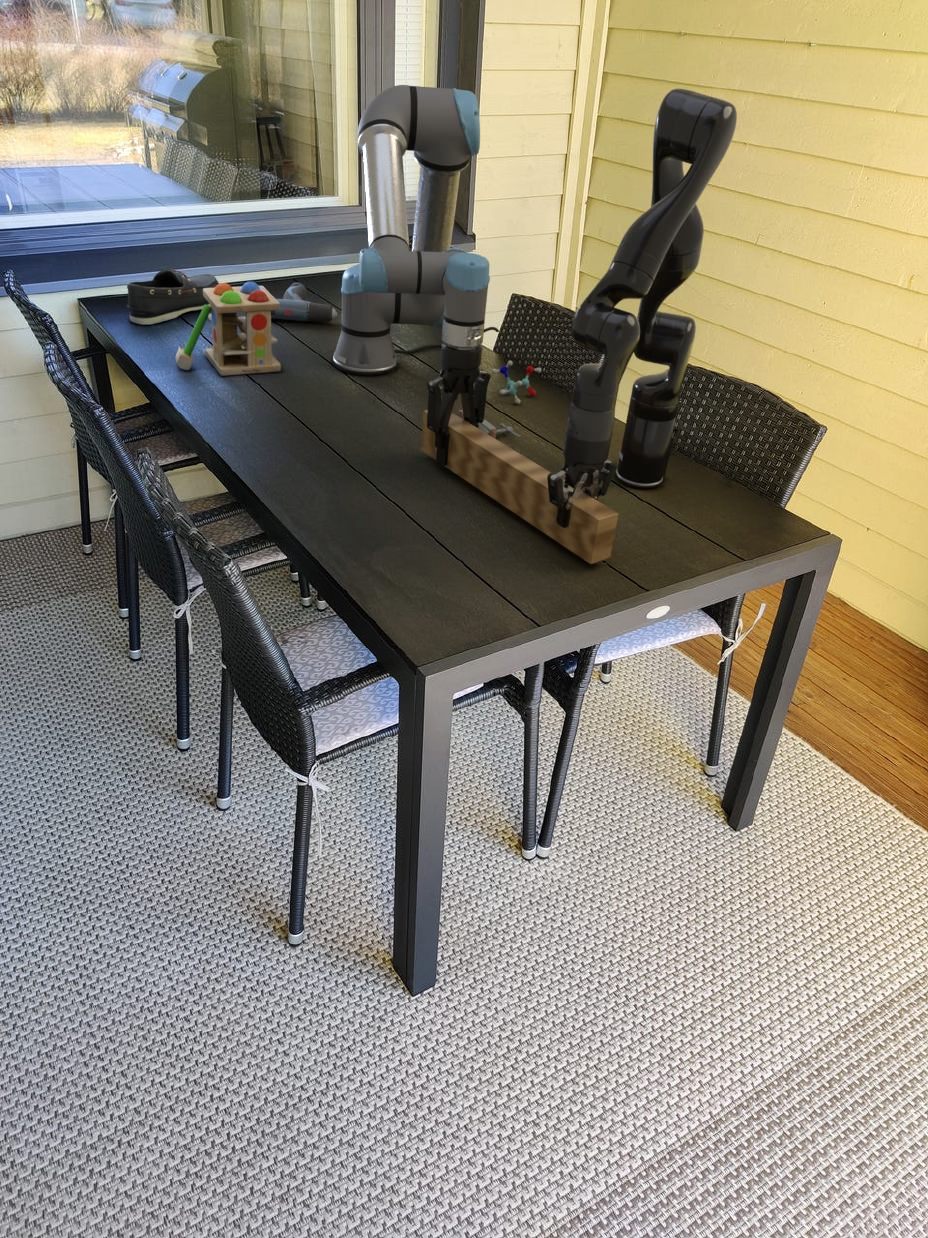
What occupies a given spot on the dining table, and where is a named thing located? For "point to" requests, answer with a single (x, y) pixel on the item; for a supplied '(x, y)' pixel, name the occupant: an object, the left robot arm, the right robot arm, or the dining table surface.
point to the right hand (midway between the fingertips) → (574, 521)
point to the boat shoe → (167, 296)
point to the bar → (524, 489)
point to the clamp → (492, 427)
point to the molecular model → (511, 383)
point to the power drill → (301, 307)
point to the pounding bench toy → (229, 347)
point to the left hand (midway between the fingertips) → (452, 459)
